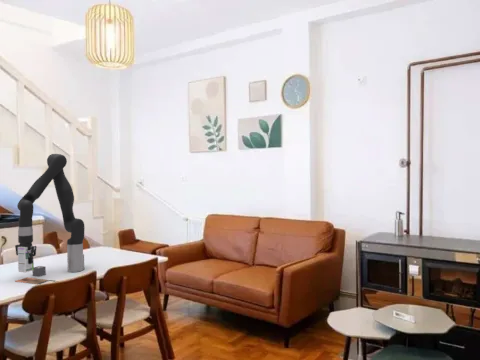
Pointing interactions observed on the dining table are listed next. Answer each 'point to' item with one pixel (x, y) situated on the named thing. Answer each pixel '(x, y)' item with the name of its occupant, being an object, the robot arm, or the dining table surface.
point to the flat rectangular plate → (32, 280)
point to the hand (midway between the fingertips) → (25, 263)
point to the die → (39, 271)
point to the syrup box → (24, 260)
